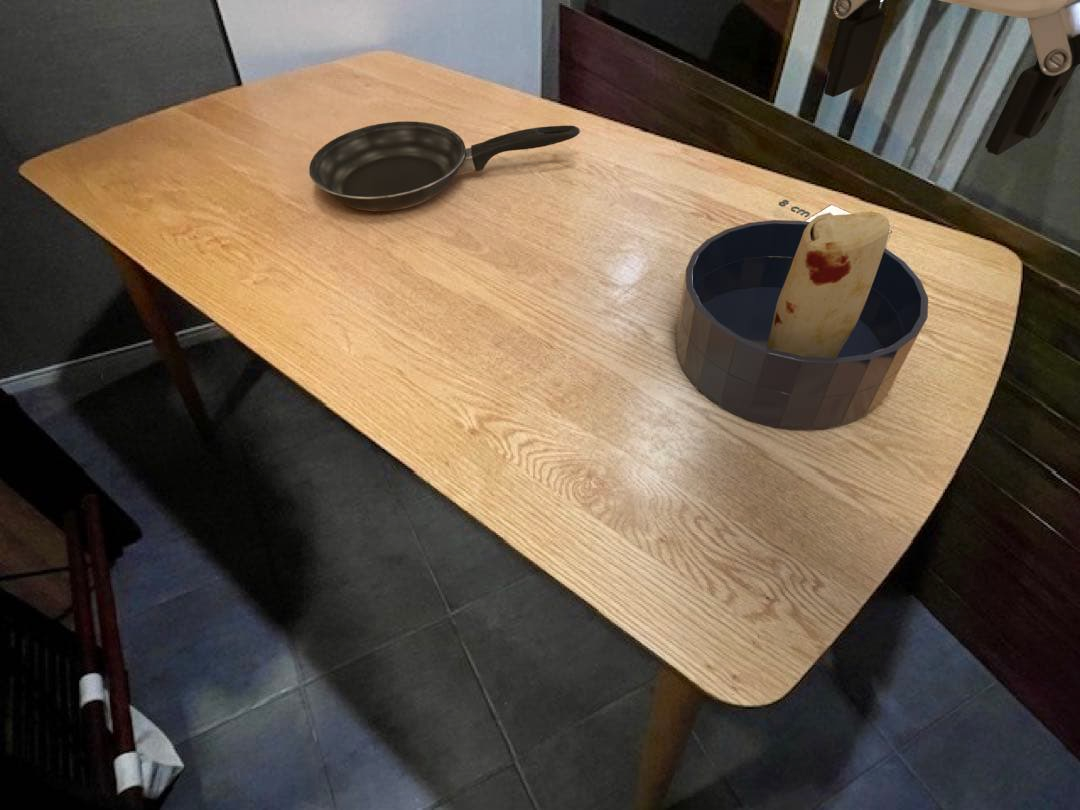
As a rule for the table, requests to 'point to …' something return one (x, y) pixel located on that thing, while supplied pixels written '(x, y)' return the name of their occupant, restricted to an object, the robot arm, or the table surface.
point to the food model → (828, 283)
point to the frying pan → (410, 161)
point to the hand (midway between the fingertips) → (918, 115)
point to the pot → (746, 320)
